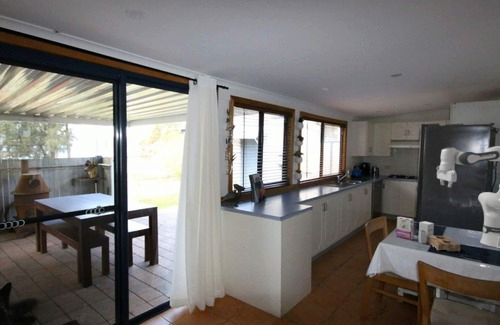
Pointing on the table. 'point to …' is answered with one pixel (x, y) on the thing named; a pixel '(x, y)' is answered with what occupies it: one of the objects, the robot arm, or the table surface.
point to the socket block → (442, 243)
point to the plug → (422, 236)
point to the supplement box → (427, 227)
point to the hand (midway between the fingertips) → (445, 186)
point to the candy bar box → (405, 228)
